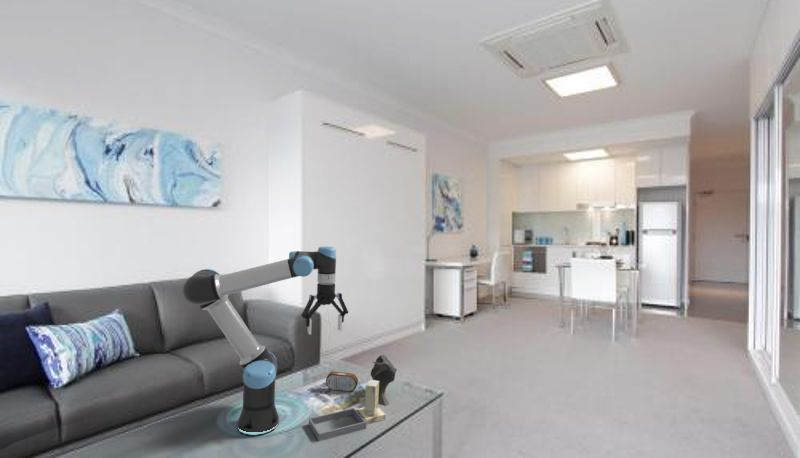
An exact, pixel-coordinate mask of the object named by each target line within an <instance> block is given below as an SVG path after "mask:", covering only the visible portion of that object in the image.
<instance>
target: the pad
mask: <svg viewBox="0 0 800 458" xmlns="http://www.w3.org/2000/svg"><path fill="white" fill-rule="evenodd" d="M355 410H356V411H357V412H358V413H359V414H360V415H361V417H362V418H363V419H364V420H365V421H366V425H368V424H372V423H376V422H381V421H385V420H386V413H385V412H384V411H383V410H382V409H381V408H380V407H379V406H378V410H377V412H376V414H375V416H372V415H365V406H364V407H361V408H355Z"/></svg>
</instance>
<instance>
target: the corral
mask: <svg viewBox="0 0 800 458" xmlns="http://www.w3.org/2000/svg"><path fill="white" fill-rule="evenodd" d="M350 416H353V417H354V418H355V419H356V421H358V423H353V424H351V425H350V424H349V425H346V426H343V427H339V428H334V429H331V430H330V429H329V430H327V431H323V432H320V431H319V430H318V428H317V426H316V424H320V423H324V422H325V423H326V422H329V421H333V420H337V419H341V418H345V417H350ZM308 426H309V428H310V429H311V430H312V432H313V434H314V436H315V437H316V439H317V440H318V442H320V441H324V440H328V439H332V438H335V437H339V436H342V435H346V434H350V433H353V432H357V431H363V430H364V429H366V428H367V424H366V421H365V420H364V419H363V418H362V417H361V415H360V414H359V413H358V412H357V411H356V408H355V407H353V408H348V409H344V410H343V409H342V410H339V411H335V412H331V413H326V414H321V415H318V416H314V417H309V418H308Z"/></svg>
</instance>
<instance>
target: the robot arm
mask: <svg viewBox="0 0 800 458" xmlns="http://www.w3.org/2000/svg"><path fill="white" fill-rule="evenodd" d="M288 253H289V254H288V258H287V259H283V260H279V261H275V262H271V263H266V264H263V265H260V266H259V265H258V266H255V267H251V268H246V269H243V270H239V271H234V272H231V273H226V274H221V273H219V272H218V271H216V270H215V269H210V268H204V269H201V270H198V271H196V272H195V273H193V274H192V275H191V276H190V277H189V278H187V279H186V280H185V281H184V284H183V286H182V289H181V290H182V295H183V298H184V299H185V301H187V302H188V303H189V304H191V305H194V306H198V307H199V308H201V309H200V310H203V311H208V313H209V314H210V316H211V318H212V319H213V320H214V322H215V323H216V325H217V326H218V328H219V329H220V330H221V332H222V333H223V335H224V336H225V338H226V339H227V340H228V343H230V345H231V347H232V348H233V349H234V351H235V352H236V354H237V356H238V357H239V358H240V361H239V366H240V367H241V368H242V370H243V374H242V382H243V384H242V408H241V412H240V415H239V417H238V421H237V429H238V428H239V429H241V430H243V431H246V432H263V431H267V430H270V429H272V428H273V427H275V426H276V425H277V424H278V423H279V424H280V416H279V412H278V410H277V407H276V405H275V400H276V398H275V397H276V395H275V394H276V377H277V372H278V361H277V357H276V356H275V355H274V354H273V352H270V351H268V349H267V347H266V346H265V345H260V343H258V341H257V340H256V338H255V336H254V335H253V333H252V331H250V329H249V328H248V326H247V324H246V323H245V322H244V320H243V318H242V317H241V316H240V314H239V312H238V311H237V309H235V307H234V305H233V304H232V303H231V301H230V299H229V295H231V294H232V295H233V294H235V293H236V294H237V293H240V292H243V291H248V290H252V289H256V288H259V287H262V286H266V285H267V286H268V285H270V284H273V283H274V284H275V283H277V282H281V281H286V280H289V279H293V278H298V277H301V278H302V277H303V278H304V277H308V276H309V275H311V274H312V272H313V271H314V270H317V284H316V286H317V287H316V290H317V291H316V295H315V294H314V295H312V294H309V298H308V301H307V303H306V305H305V307H304V309H303V311H302V312H301V318H303V319H305V326H306V327H307V334H308V335H312V326H313V325H312V322H313V321H312V316H313V315H314V314H315V313H316V311H317V310H318V309H319V308H320V307H321V306H326V305H327V306H328V305H329V306H330V305H332V306H333V307H334V308H335V309H336V311H337V312H338V313H339V314H338V315H337V320H338V321H337V330H338V331H340V332H341V331H343V330H342V329H343V325H342V323H344V321H345V316H346V315H348V313H349V309H348V308H347V305H346V303H345V301H344V300H343V294H342V293H341V292H337V293H336V270H337V269H336V267H337V266H336V265H337V250H336V248H335V247H333V246H320V247H318V250H317V251H306V250H305V251H300V250H296V251H290V252H288ZM336 298H337V299H338V302H339V304H340V306H339V305H338V304H337V302H336V301H335V299H336ZM315 300H316V302H315V303H314V301H315ZM313 303H314V305H313ZM279 424H278V425H279Z"/></svg>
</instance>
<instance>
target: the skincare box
mask: <svg viewBox="0 0 800 458" xmlns="http://www.w3.org/2000/svg"><path fill="white" fill-rule="evenodd" d="M364 394H365V395H364V396H365V398H364V407H365V415H372V416H375V414H376V412H377V410H378V407H379V404H378V399H379V381H376V380H373V379H369V380H368V381H367V383H366V384H365V393H364Z"/></svg>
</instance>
